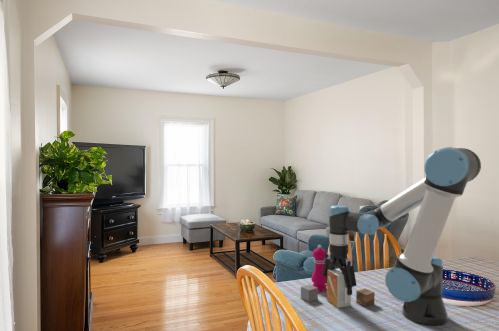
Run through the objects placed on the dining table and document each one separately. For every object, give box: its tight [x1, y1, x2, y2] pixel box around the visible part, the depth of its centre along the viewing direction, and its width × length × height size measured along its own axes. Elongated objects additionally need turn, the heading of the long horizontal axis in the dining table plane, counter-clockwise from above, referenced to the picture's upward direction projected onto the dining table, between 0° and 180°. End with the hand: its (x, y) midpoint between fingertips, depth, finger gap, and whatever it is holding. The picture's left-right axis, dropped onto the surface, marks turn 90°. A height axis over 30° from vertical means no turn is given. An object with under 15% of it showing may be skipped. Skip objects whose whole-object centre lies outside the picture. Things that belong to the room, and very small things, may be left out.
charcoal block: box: [300, 284, 319, 303], centre depth 152 cm, size 5×5×5 cm
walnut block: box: [355, 288, 375, 308], centre depth 147 cm, size 5×5×5 cm
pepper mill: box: [311, 244, 327, 292], centre depth 164 cm, size 7×7×20 cm
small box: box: [326, 267, 352, 309], centre depth 147 cm, size 8×6×13 cm
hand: (338, 298), depth 148 cm, fingers closed on small box, 9 cm apart
